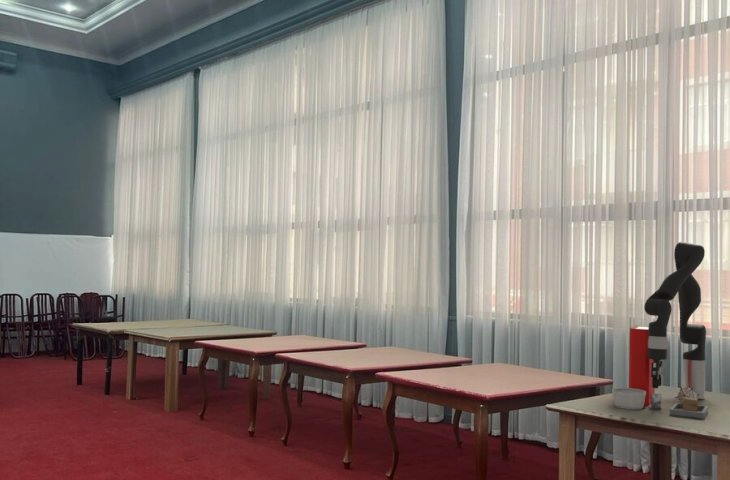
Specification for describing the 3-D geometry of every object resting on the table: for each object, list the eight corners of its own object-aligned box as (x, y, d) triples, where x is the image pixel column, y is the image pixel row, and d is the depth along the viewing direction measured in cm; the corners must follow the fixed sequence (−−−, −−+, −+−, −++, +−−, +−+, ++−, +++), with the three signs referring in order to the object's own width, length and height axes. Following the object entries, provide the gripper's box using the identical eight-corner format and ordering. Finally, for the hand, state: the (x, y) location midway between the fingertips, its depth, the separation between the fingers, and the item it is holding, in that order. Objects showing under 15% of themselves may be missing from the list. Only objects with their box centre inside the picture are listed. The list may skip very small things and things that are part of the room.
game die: (691, 415, 301) (703, 398, 295) (671, 406, 303) (682, 390, 297) (691, 401, 308) (702, 385, 303) (672, 393, 310) (682, 377, 304)
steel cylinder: (651, 407, 296) (651, 392, 296) (661, 408, 294) (662, 393, 294) (649, 408, 292) (650, 393, 292) (660, 409, 290) (660, 395, 290)
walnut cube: (684, 409, 289) (684, 397, 289) (697, 411, 287) (697, 398, 287) (682, 411, 285) (683, 398, 285) (696, 412, 282) (696, 400, 283)
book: (635, 395, 326) (636, 324, 327) (654, 397, 322) (655, 326, 323) (628, 404, 301) (629, 328, 303) (648, 406, 298) (649, 329, 299)
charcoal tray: (675, 408, 294) (676, 402, 294) (708, 412, 288) (708, 406, 288) (669, 415, 278) (669, 409, 278) (703, 419, 272) (703, 413, 272)
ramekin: (633, 411, 285) (633, 394, 286) (605, 405, 296) (605, 389, 296) (652, 408, 293) (652, 391, 293) (624, 403, 304) (624, 386, 304)
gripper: (664, 349, 286) (664, 390, 285) (669, 347, 298) (668, 386, 297) (644, 347, 290) (644, 387, 289) (650, 345, 302) (649, 384, 301)
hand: (656, 386), depth 293 cm, fingers open, 8 cm apart
